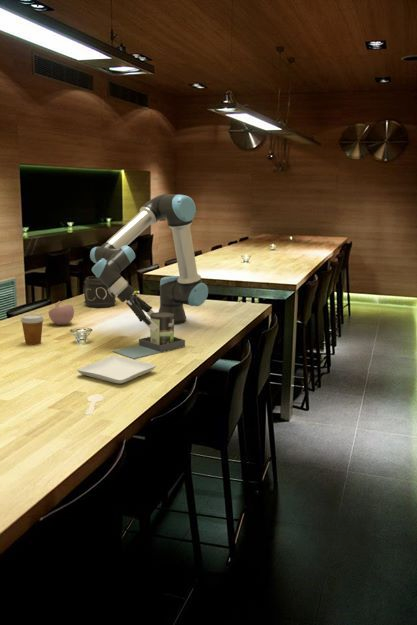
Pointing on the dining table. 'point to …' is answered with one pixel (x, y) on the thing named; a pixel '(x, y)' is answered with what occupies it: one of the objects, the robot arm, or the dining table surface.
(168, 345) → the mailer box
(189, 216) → the robot arm
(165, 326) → the coffee can
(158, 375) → the dining table surface
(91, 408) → the spoon
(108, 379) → the salad plate
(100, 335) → the dining table surface
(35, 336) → the disposable coffee cup
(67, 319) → the pink apple
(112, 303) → the coffee canister
